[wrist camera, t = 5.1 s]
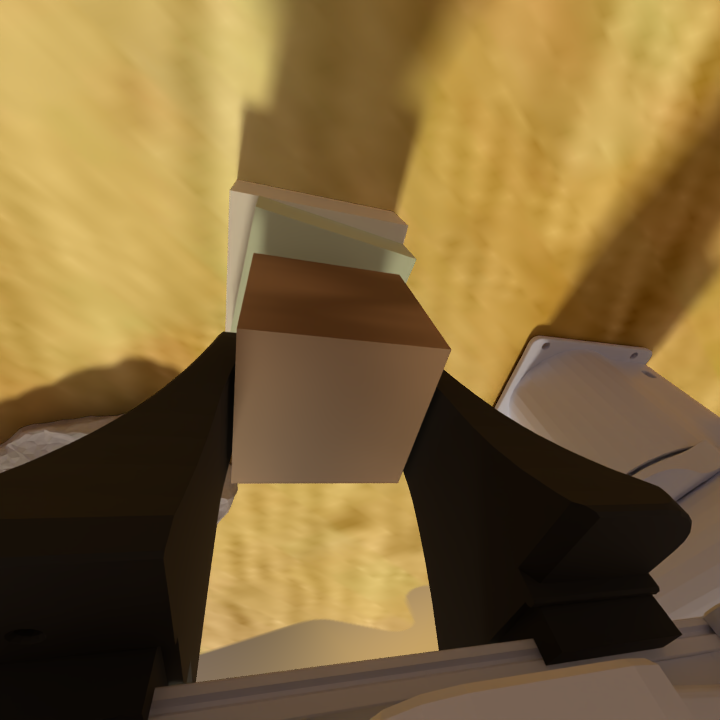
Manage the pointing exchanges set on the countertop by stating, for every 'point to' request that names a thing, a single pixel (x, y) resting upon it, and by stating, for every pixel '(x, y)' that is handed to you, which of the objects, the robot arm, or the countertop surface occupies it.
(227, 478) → the stone block
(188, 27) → the countertop surface
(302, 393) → the walnut block
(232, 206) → the grey base block
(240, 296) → the sage top block
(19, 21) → the countertop surface
